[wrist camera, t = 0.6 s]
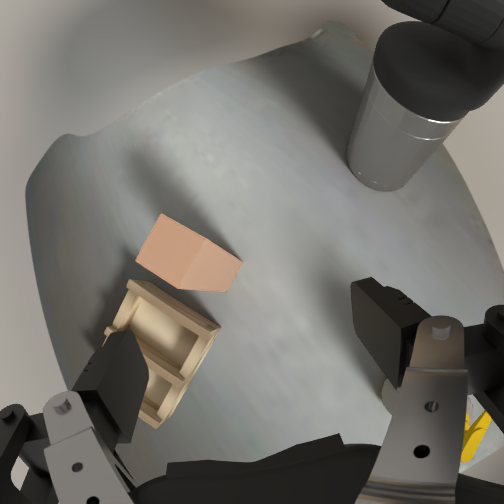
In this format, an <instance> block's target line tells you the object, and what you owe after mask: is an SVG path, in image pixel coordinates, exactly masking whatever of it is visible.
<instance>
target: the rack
mask: <svg viewBox="0 0 504 504" xmlns="http://www.w3.org/2000/svg"><path fill="white" fill-rule="evenodd" d="M126 287H127V288H128V289H129V290H128V292H127V294H126V296H125V298H124V300H123V303H122V305H121V307H120V309H119V311H118V313H117V315H116V317H115V319H114V322H113V324H112V326H109V327H107V328H106V330H105V332H104V334H105V335H106V336H107V337H106V339H105V341H106V340H107V338H108V336H109V335H110V333H112V332H117V331H123V330H131V331H132V332H133V333H134V335H135V337H136V340H137V342H138V345H139V347H140V349H141V352H142V354H143V356H144V358H145V361H146V363H147V366H148V369H149V381H148V385H147V388H146V391H145V394H144V398H143V401H142V404H141V408H140V411H139V415H138V417H140V418H141V419H143V420H144V421H145V422H147V423H148V424H150V425H151V426H153V427H154V428H155V429H156V428H158V427H159V426H160V425H161V424H162V423H163V422H164V421H166V420H167V419H168V418H169V417H170V416H171V415H172V413H173V412H174V410H175V408H176V406H177V405H178V403H179V401H180V399H181V398H182V396H183V394H184V392H185V391H186V389H187V387H188V385H189V384H190V382H191V380H192V378H193V377H194V375H195V373H196V371H197V370H198V368H199V366H200V364H201V362H202V361H203V359H204V357H205V355H206V354H207V352H208V350H209V348H210V347H211V345H212V343H213V341H214V339H215V338H216V336H217V334H218V332H219V331H220V329H221V327H220V326H218V325H217V324H215V323H213V322H212V321H210V320H208V319H207V318H205V317H203V316H202V315H200V314H199V313H197V312H195V311H194V310H192V309H190V308H189V307H187V306H186V305H184V304H183V303H181V302H179V301H178V300H176V299H175V298H173V297H172V296H170V295H169V294H167V293H165V292H164V291H162V290H161V289H159V288H158V287H156V286H155V285H153V284H152V283H150V282H149V281H141V280H133V279H129V281H128V283H127V285H126ZM105 341H104V343H105ZM103 345H104V344H103Z"/></svg>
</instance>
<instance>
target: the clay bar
mask: <svg viewBox="0 0 504 504" xmlns="http://www.w3.org/2000/svg"><path fill="white" fill-rule="evenodd" d="M135 261H136V262H137V263H139V264H140V265H142V266H143V267H145V268H146V269H148V270H149V271H151V272H153V273H154V274H156V275H157V276H159V277H160V278H162V279H163V280H165V281H166V282H168V283H170V284H171V285H173V286H174V287H176V288H177V289H188V290H202V291H218V292H227V291H228V289H229V287H230V285H231V283H232V282H233V280H234V278H235V276H236V274H237V273H238V271H239V269H240V267H241V266H242V264H243V262H242V261H240V260H239V259H237V258H236V257H234V256H233V255H231V254H230V253H228V252H226V251H225V250H223V249H222V248H220V247H219V246H217V245H216V244H214V243H213V242H211V241H210V240H208V239H206V238H205V237H203V236H201V235H199V234H198V233H196V232H194V231H192V230H190V229H189V228H187V227H185V226H183V225H181V224H180V223H178V222H176V221H174V220H173V219H171V218H169V217H167V216H165V215H164V214H162V213H161V214H160V216H159V218H158V219H157V221H156V223H155V225H154V227H153V228H152V230H151V232H150V234H149V236H148V238H147V239H146V241H145V243H144V245H143V247H142V249H141V251H140V253H139V254H138V256H137V258H136V260H135Z"/></svg>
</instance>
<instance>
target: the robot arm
mask: <svg viewBox="0 0 504 504" xmlns="http://www.w3.org/2000/svg"><path fill="white" fill-rule="evenodd" d="M382 1H383V2H384V3H385V4H386V5H387V6H388V7H391V8H392V9H394V10H397V11H398V12H401V13H403V14H406V15H408V16H410V17H413V18H415V19H418V20H421V21H423V22H419V21H407V22H400V23H397V24H394V25H392V26H390V27H388V28H387V29H386V30H385V31H384V32H383V33H382V34H381V36H380V37H379V40H378V42H377V45H376V48H375V52H374V56H373V60H372V64H371V68H370V72H369V75H368V79H367V83H366V86H365V90H364V93H363V97H362V100H361V104H360V107H359V110H358V114H357V117H356V120H355V123H354V127H353V129H352V133H351V136H350V139H349V142H348V146H347V161H348V165H349V167H350V169H351V171H352V172H353V174H354V175H355V176H356V178H358V179H359V180H360V181H361V182H362V183H363V184H365V185H366V186H368V187H370V188H373V189H375V190H379V191H392V190H396V189H398V188H400V187H402V186H403V185H405V184H406V183H407V182H408V181H409V180H410V179H411V178H412V176H413V175H414V174H415V173H416V172H417V171H418V170H419V169H420V168H421V167H422V166H423V164H424V163H425V162H426V161H427V160H428V159H429V158H430V157H431V155H432V154H433V153H434V152H435V151H436V150H437V149H438V147H439V146H440V145H441V144H442V143H443V142H444V140H445V139H446V138H447V137H448V136H449V135H450V133H451V132H452V131H453V130H454V129H455V127H456V126H457V125H458V124H459V123H460V121H461V120H462V119H463V118H464V117H465V115H466V114H467V113H468V112H469V111H471V110H475V109H477V108H479V107H481V106H482V105H484V104H485V103H486V102H487V101H488V100H489V99H490V98H491V97H492V96H493V95H494V94H495V93H496V92H497V91H498V89H499V88H500V87H501V86H502V85H503V84H504V0H382ZM351 299H352V312H353V324H354V328H355V331H356V334H357V336H358V338H359V339H360V340H361V342H362V343H363V344H364V346H365V347H366V349H367V350H368V351H369V353H370V354H371V356H372V357H373V358H374V360H375V361H376V363H377V364H378V365H379V367H380V368H381V370H382V371H383V373H384V374H385V375H386V377H387V378H388V380H389V381H390V383H391V384H392V385H393V387H394V388H395V390H396V391H399V390H400V392H399V396H398V399H397V403H396V406H395V409H394V412H393V415H392V418H391V421H390V424H389V427H388V430H387V433H386V436H385V439H384V442H383V444H382V446H378V445H372V444H343V441H342V439H341V436H340V434H339V433H338V434H335V435H332V436H328V437H325V438H321V439H317V440H313V441H310V442H306V443H301V444H297V445H295V446H292V447H290V448H288V449H286V450H283V451H281V452H278V453H276V454H274V455H271V456H269V457H266V458H264V459H261V460H258V461H255V462H229V461H216V460H200V461H188V462H173V463H168V464H167V471H166V475H163V476H160V477H157V478H154V479H152V480H150V481H147V482H145V483H143V484H142V485H139V484H138V482H137V481H136V479H135V478H134V476H133V475H132V473H131V472H130V470H129V469H128V467H127V466H126V464H125V463H124V461H123V459H122V458H121V456H120V454H119V453H118V452H117V450H116V449H115V447H116V444H117V443H131V439H132V436H133V432H134V428H135V425H136V421H137V418H138V415H139V411H140V408H141V404H142V401H143V398H144V394H145V391H146V388H147V385H148V381H149V369H148V366H147V363H146V361H145V358H144V356H143V354H142V352H141V349H140V347H139V345H138V342H137V340H136V337H135V335H134V333H133V332H132V331H131V330H123V331H117V332H112V333H110V335H109V336H108V338H107V340H106V341H105V343H104V345H103V346H102V347H101V348H100V349H99V350H97V351H96V352H95V353H94V354H93V355H92V357H91V358H90V360H89V361H88V365H86V366H85V368H84V372H82V373H81V375H80V376H79V378H78V380H77V382H76V383H75V385H74V387H73V388H72V390H71V391H66V392H62V393H59V394H57V395H55V396H54V397H52V398H51V399H50V400H49V401H48V402H47V403H46V405H45V406H44V408H43V413H39V414H35V415H31V416H29V415H28V413H27V412H26V410H25V409H24V407H23V406H22V405H20V404H12V405H9V406H7V407H5V408H4V409H2V410H1V411H0V504H58V503H60V504H504V485H500V484H496V483H492V482H488V481H484V480H481V479H477V478H474V477H470V476H466V475H463V474H460V473H458V472H459V466H460V460H461V454H462V447H463V439H464V431H465V421H466V410H467V395H471V394H473V395H474V397H475V398H476V399H477V400H478V401H479V403H480V404H481V405H482V406H483V408H484V409H485V410H486V412H487V413H488V414H489V415H490V417H491V418H492V419H493V421H494V422H495V423H496V424H497V426H498V427H499V428H500V430H501V431H502V432H503V434H504V305H496V306H493V307H491V308H489V309H488V310H487V311H486V313H485V319H484V324H479V325H474V326H468V327H463V325H462V323H461V322H460V321H459V320H457V319H455V318H453V317H449V316H433V317H432V316H431V315H430V314H428V313H427V312H426V311H425V310H423V309H422V308H421V307H420V306H419V305H417V304H416V303H415V302H414V303H413V301H412V300H411V299H410V298H409V297H408V298H407V296H406V295H405V294H404V293H402V292H401V291H400V290H398V289H395V288H392V287H389V286H386V287H383V286H382V285H381V284H380V283H378V282H377V281H376V280H375V279H374V278H372V277H369V278H365V279H362V280H358V281H354V282H352V283H351ZM18 456H19V457H20V458H21V459H22V460H23V462H24V463H25V464H26V465H27V466H28V467H29V470H28V472H27V475H26V477H25V480H24V482H23V485H22V487H21V490H20V491H19V490H18V489H17V488H16V487H15V486H14V484H13V483H12V480H11V470H12V468H13V466H14V463H15V461H16V459H17V457H18Z"/></svg>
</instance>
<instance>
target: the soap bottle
mask: <svg viewBox="0 0 504 504" xmlns="http://www.w3.org/2000/svg"><path fill="white" fill-rule="evenodd" d="M399 392H400V390H399V391H396V390H395V388H394V387H393V385H392V384H391V383H390V381H389V380H388V378H387V379H386V381H385V382H384V385H383V389H382V393H381V395H382V403H383V405H384V406H385V408H386V409H387V411H388V412H389V413H390V414H391V415H393V412H394V409H395V406H396V403H397V399H398V396H399ZM473 417H474V406H473V404H472V402H471V400H470V398H469V397H467V410H466V421H465V431H464V439H463V449H462V454H461V460H460V461H461V462H468V461H470V460H471V459H472V457H473V455H474V453H475V451H476V449H477V447H478V446H479V444H480V442H481V440H482V438H483V436H484V433H485V431H486V430H487V428H488V426H489V424H490V422H491V419H492V418H491V417H490V415H489V414H488V413H487V412H486V410H484V412H483V413H482V414H481V415H480V416H479V418H478V419H477V420H476V421H475V422H474V423H473V424H472V425H471V423H472V420H473ZM470 426H471V427H470Z"/></svg>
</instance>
